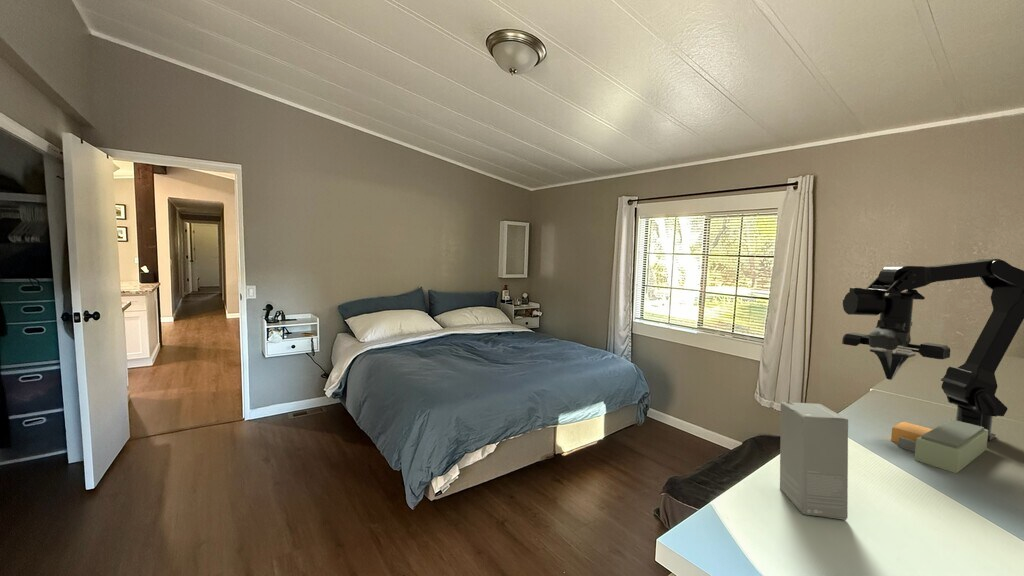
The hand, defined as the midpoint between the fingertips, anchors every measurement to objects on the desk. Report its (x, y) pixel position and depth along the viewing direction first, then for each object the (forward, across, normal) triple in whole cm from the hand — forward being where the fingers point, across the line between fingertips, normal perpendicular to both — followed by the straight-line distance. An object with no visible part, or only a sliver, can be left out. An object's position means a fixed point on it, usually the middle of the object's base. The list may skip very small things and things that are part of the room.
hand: (889, 379), depth 101 cm
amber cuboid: (+12, +7, -6) cm, 15 cm away
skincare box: (+12, +7, -56) cm, 58 cm away
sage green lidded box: (+12, +11, -7) cm, 18 cm away
